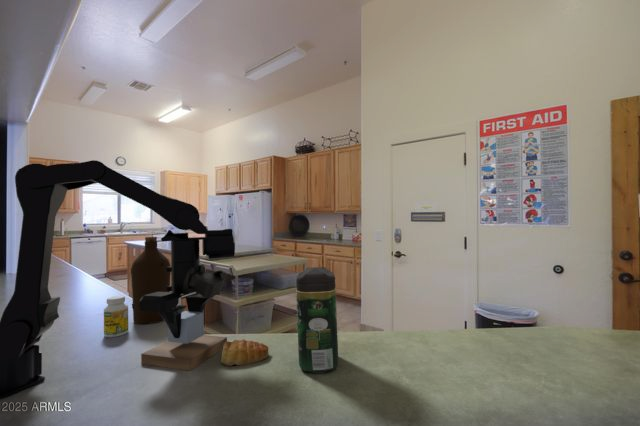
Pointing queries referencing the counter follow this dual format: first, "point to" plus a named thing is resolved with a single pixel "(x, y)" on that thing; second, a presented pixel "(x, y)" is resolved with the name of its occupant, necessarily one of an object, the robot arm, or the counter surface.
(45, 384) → the counter surface
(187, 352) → the base slab
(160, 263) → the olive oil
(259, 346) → the pastry
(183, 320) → the block
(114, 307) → the supplement bottle
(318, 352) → the coffee jar
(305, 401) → the counter surface
